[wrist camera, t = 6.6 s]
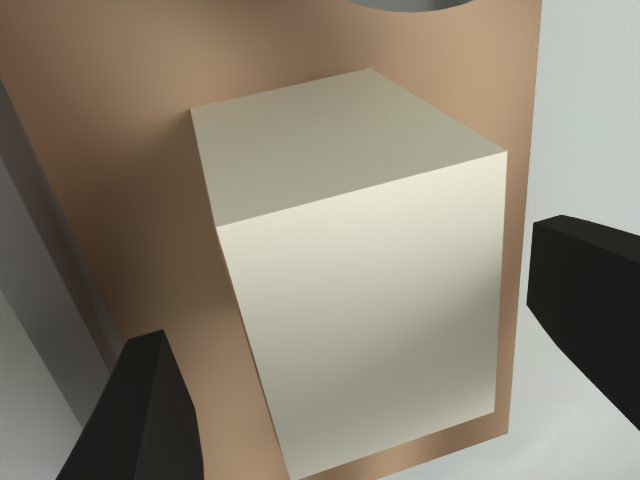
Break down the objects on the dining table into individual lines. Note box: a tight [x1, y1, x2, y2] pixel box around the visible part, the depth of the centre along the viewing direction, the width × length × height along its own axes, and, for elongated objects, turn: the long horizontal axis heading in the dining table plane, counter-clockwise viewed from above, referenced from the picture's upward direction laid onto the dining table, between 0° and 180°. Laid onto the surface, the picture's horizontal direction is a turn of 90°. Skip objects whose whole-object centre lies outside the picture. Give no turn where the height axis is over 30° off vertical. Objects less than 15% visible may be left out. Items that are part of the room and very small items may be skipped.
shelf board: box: [0, 0, 542, 480], centre depth 14 cm, size 14×25×4 cm, turn 8°
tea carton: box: [190, 68, 507, 480], centre depth 12 cm, size 5×6×6 cm
